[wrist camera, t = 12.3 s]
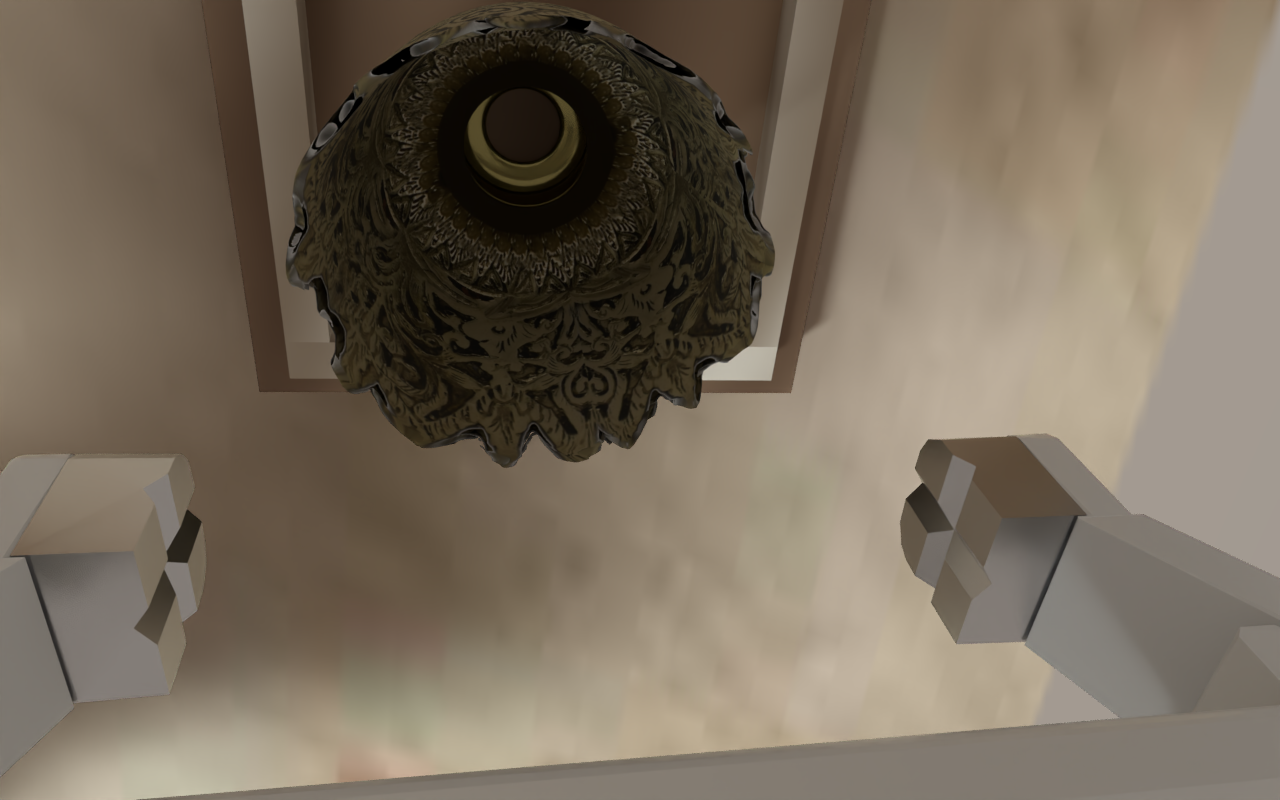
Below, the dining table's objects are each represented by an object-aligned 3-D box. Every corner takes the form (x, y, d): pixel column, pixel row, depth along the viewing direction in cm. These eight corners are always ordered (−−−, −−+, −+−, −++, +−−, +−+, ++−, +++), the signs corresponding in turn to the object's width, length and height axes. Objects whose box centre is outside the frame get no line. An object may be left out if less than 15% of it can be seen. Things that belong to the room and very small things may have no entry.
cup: (707, 237, 23) (798, 416, 16) (416, 307, 23) (389, 515, 16) (652, -96, 19) (743, -38, 12) (297, -13, 19) (197, 93, 12)
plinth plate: (274, 352, 25) (251, 413, 23) (188, -284, 18) (140, -297, 15) (772, 356, 28) (801, 412, 25) (878, -206, 20) (933, -206, 18)
